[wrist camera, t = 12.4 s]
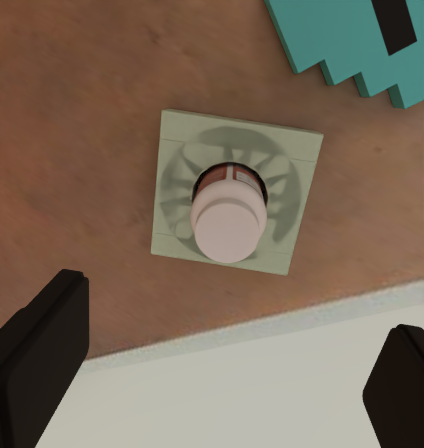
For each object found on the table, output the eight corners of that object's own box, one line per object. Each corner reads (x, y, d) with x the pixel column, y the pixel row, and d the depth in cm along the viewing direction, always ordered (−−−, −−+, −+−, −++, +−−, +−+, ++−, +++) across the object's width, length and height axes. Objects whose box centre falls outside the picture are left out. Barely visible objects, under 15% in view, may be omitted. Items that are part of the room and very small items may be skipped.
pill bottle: (200, 219, 35) (185, 272, 25) (198, 160, 33) (180, 193, 22) (259, 219, 35) (269, 273, 24) (261, 160, 32) (272, 193, 22)
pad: (168, 108, 31) (161, 110, 28) (316, 130, 31) (324, 134, 28) (157, 241, 36) (150, 253, 34) (283, 261, 36) (287, 275, 33)
